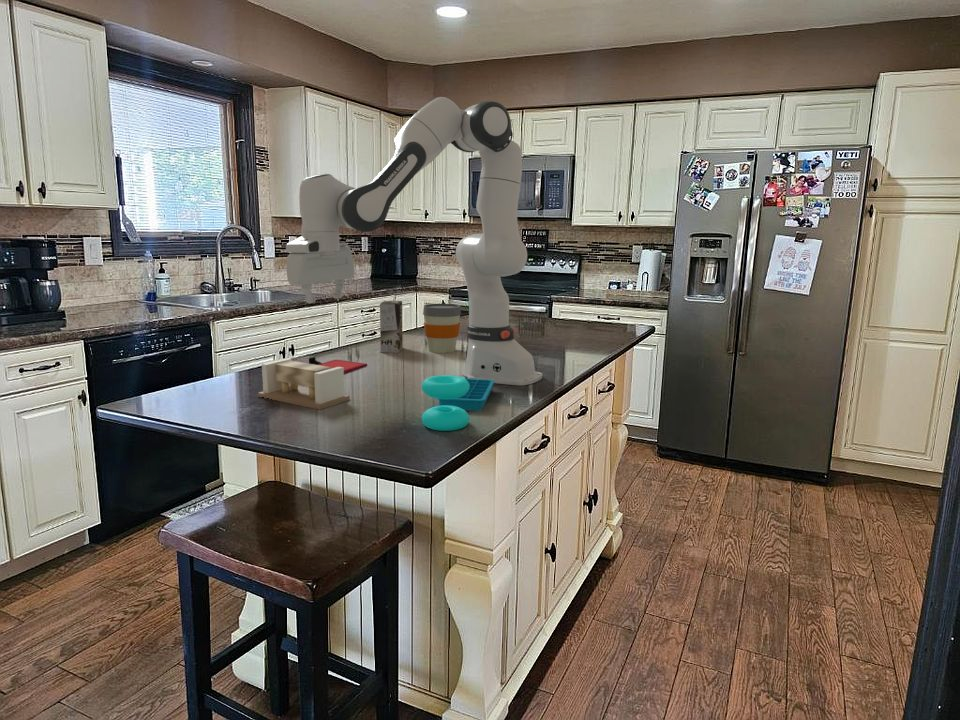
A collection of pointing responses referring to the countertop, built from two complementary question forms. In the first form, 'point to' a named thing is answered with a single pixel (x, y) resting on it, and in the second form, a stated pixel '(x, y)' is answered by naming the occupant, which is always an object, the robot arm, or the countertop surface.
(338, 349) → the countertop surface
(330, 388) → the cradle
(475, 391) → the ice cube tray
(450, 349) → the reusable coffee cup
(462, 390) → the donuts
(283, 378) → the tan wooden block
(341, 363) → the red board with handle
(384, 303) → the coffee box
